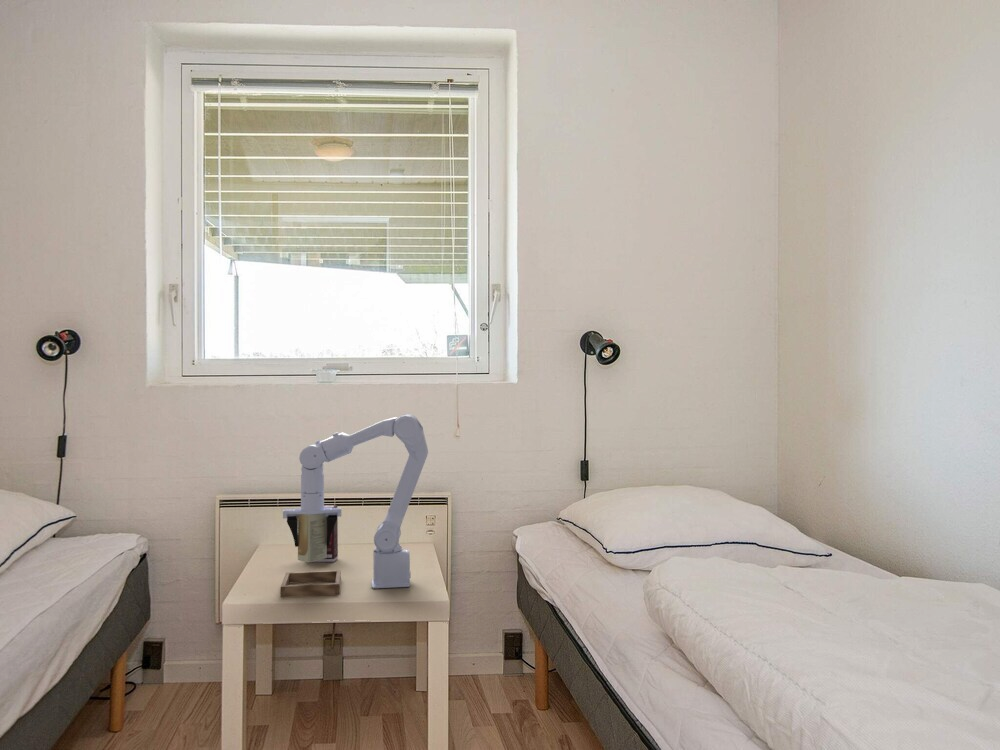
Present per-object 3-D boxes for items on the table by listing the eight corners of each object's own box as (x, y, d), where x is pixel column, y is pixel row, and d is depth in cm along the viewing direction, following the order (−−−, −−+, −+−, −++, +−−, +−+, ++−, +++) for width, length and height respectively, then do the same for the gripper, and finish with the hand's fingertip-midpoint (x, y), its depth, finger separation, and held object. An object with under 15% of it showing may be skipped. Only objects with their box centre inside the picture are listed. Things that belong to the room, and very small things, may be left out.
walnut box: (340, 579, 203) (340, 570, 203) (339, 594, 189) (339, 584, 189) (285, 582, 200) (285, 572, 200) (280, 597, 186) (280, 586, 186)
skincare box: (316, 555, 200) (317, 509, 200) (327, 558, 198) (328, 511, 198) (296, 560, 195) (297, 512, 195) (307, 563, 192) (308, 514, 192)
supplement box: (338, 558, 226) (338, 504, 226) (334, 562, 222) (334, 507, 222) (309, 558, 227) (309, 504, 227) (304, 562, 222) (304, 507, 222)
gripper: (341, 489, 202) (341, 540, 202) (284, 490, 199) (284, 543, 199) (341, 493, 195) (341, 546, 195) (282, 494, 192) (282, 549, 192)
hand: (312, 545), depth 196 cm, fingers closed on skincare box, 7 cm apart
